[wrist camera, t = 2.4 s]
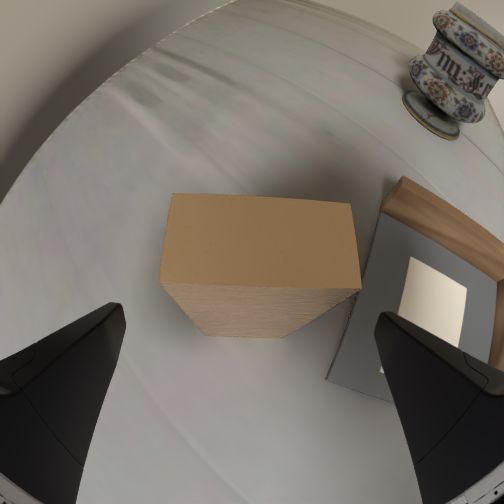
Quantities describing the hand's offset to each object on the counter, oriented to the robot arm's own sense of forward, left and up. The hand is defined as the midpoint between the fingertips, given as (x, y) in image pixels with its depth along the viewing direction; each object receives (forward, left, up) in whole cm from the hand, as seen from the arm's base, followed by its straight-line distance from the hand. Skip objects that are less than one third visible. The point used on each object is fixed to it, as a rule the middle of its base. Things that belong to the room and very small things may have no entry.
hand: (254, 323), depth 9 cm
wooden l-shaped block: (+2, +4, -9) cm, 10 cm away
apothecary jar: (+35, +14, -9) cm, 39 cm away
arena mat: (+14, -6, -9) cm, 18 cm away
